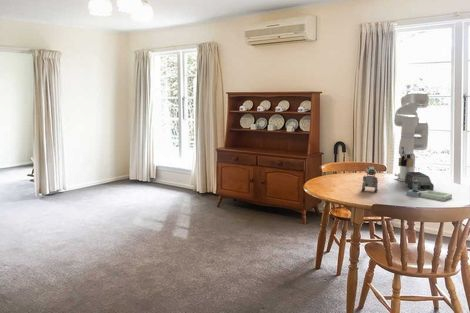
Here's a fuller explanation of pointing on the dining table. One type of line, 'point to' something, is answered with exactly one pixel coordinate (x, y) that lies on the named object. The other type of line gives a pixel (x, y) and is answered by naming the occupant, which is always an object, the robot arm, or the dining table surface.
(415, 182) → the stop pin
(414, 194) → the pin socket
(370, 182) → the figurine
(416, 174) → the toy van
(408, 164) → the chock
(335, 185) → the dining table surface
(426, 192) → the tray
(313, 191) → the dining table surface
